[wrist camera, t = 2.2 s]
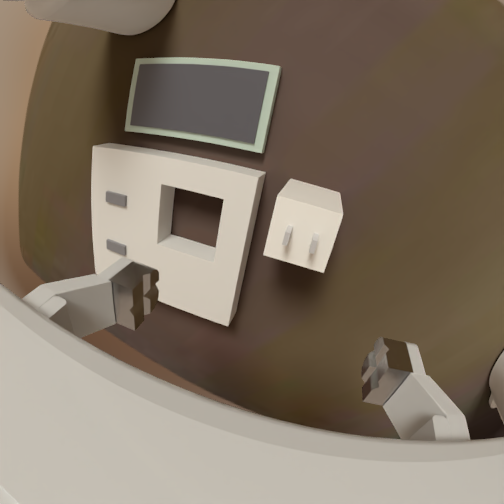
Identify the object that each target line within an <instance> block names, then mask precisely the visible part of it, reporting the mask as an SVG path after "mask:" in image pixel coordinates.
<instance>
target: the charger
mask: <svg viewBox="0 0 504 504" xmlns="http://www.w3.org/2000/svg"><path fill="white" fill-rule="evenodd" d="M342 217H343V209H342V202H341V196H340V193H339V192H335V191H332V190H329V189H326V188H322V187H319V186H315V185H312V184H308V183H305V182H301V181H297V180H294V179H290V180H289V181H288V183H287V184H286V185H285V186H284V188H283V189H282V190H281V191H280V193H279V194H278V195H277V199H276V203H275V208H274V212H273V216H272V220H271V225H270V229H269V233H268V237H267V241H266V246H265V250H264V254H263V255H265V256H268V257H272V258H275V259H278V260H282V261H285V262H288V263H292V264H295V265H298V266H302V267H305V268H309V269H312V270H315V271H319V272H322V273H324V270H325V268H326V265H327V262H328V259H329V256H330V253H331V250H332V247H333V244H334V242H335V239H336V236H337V232H338V229H339V226H340V223H341V220H342Z"/></svg>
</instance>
